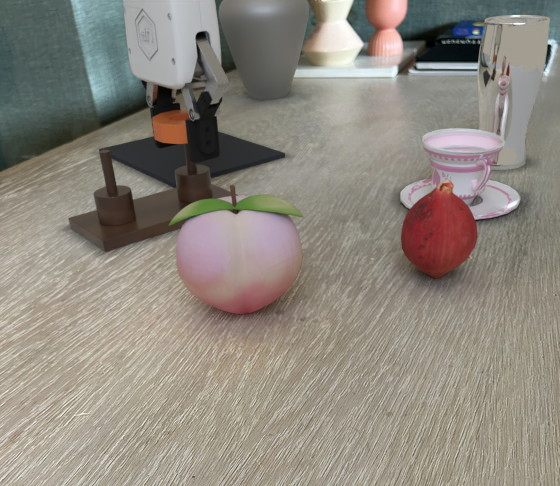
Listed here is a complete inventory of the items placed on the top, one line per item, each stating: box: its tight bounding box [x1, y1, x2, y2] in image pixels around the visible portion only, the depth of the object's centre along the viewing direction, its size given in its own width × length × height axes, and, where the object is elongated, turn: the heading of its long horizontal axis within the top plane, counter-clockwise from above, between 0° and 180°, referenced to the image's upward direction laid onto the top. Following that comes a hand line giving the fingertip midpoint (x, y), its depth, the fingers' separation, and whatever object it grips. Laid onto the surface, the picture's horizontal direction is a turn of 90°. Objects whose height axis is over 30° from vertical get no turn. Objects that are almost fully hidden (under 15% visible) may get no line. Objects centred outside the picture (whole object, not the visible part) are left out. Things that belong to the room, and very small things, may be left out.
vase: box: [218, 0, 310, 101], centre depth 107 cm, size 14×14×25 cm
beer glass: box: [476, 14, 551, 171], centre depth 74 cm, size 7×7×15 cm
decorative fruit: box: [169, 184, 304, 315], centre depth 49 cm, size 9×8×10 cm
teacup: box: [399, 127, 522, 221], centre depth 67 cm, size 12×12×6 cm
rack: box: [67, 144, 240, 253], centre depth 67 cm, size 8×16×8 cm, turn 128°
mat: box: [98, 131, 286, 188], centre depth 87 cm, size 20×16×1 cm
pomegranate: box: [400, 180, 479, 279], centre depth 53 cm, size 6×6×8 cm
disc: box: [151, 108, 190, 144], centre depth 66 cm, size 6×6×2 cm
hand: (186, 150), depth 68 cm, fingers closed on disc, 6 cm apart
